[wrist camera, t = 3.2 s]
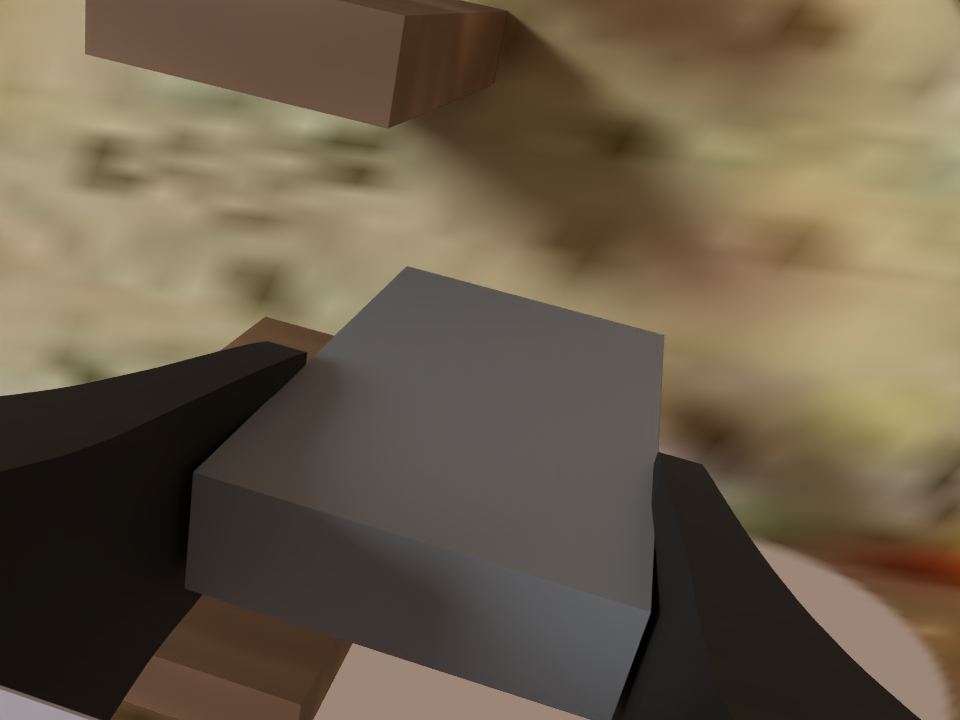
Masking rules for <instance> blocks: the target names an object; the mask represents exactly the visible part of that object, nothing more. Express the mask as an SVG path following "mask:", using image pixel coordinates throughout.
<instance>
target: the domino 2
mask: <svg viewBox="0 0 960 720" xmlns="http://www.w3.org/2000/svg"><path fill="white" fill-rule="evenodd" d="M351 645H352V642H348V641H345V640H342V639H339V638H336V637H333V636H330V635H327V634H324V633H321V632H317V631H314V630H311V629H308V628H305V627H302V626H299V625H296V624H293V623H289V622H286V621H283V620H280V619H277V618H274V617H271V616H268V615H265V614H262V613H258V612H255V611H252V610H249V609H246V608H243V607H240V606H237V605H234V604H231V603H227V602H224V601H221V600H218V599H215V598H212V597H209V596H206V595H202V596H201V598H200V599H199V600H198V601H197V602H196V604H195V605H194V606H193V607H192V608H191V610H190V611H189V612H188V613H187V614H186V615H185V617H184V618H183V619H182V620H181V621H180V623H179V624H178V625H177V626H176V627H175V629H174V630H173V631H172V632H171V633H170V635H169V636H168V637H167V638H166V640H165V641H164V642H163V644H162V645H161V646H160V648H159V649H158V650H157V651H156V653H155V654H154V655H153V657H152V658H151V659H150V661H149V662H148V663H147V665H146V666H145V668H144V669H143V671H142V672H141V674H140V675H139V677H138V678H137V680H136V681H135V683H134V684H133V686H132V687H131V689H130V690H129V692H128V693H127V695H126V696H125V698H124V699H123V701H125V702H128V703H130V704H133V705H136V706H139V707H142V708H145V709H148V710H151V711H154V712H157V713H160V714H163V715H166V716H169V717H172V718H175V719H177V720H313V719H314V717H315V715H316V713H317V711H318V709H319V707H320V705H321V703H322V701H323V700H324V698H325V696H326V693H327V692H328V690H329V688H330V686H331V684H332V682H333V680H334V678H335V676H336V674H337V672H338V670H339V668H340V667H341V665H342V663H343V661H344V659H345V657H346V655H347V653H348V651H349V649H350V647H351Z"/></svg>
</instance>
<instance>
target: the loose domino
mask: <svg viewBox="0 0 960 720" xmlns="http://www.w3.org/2000/svg"><path fill="white" fill-rule="evenodd" d="M663 349H664V335H661V334H657V333H654V332H650V331H646V330H642V329H639V328H635V327H631V326H628V325H624V324H620V323H616V322H613V321H609V320H605V319H601V318H598V317H594V316H590V315H587V314H583V313H579V312H575V311H572V310H568V309H564V308H561V307H557V306H553V305H549V304H546V303H542V302H538V301H534V300H531V299H527V298H523V297H520V296H516V295H512V294H508V293H505V292H501V291H497V290H494V289H490V288H486V287H482V286H479V285H475V284H471V283H467V282H464V281H460V280H456V279H453V278H449V277H445V276H441V275H438V274H434V273H430V272H427V271H423V270H419V269H415V268H412V267H408V266H407V267H406V268H405V269H404V270H403V271H402V272H400V273H399V274H398V275H397V276H396V277H395V278H394V279H393V280H392V281H391V282H390V283H389V284H388V285H387V286H386V287H385V288H384V289H383V290H382V291H381V292H380V293H379V294H378V295H377V296H376V297H375V298H374V299H372V300H371V301H370V302H369V303H368V304H367V305H366V306H365V307H364V308H363V309H362V310H361V311H360V312H359V313H358V314H357V315H356V316H355V317H354V318H353V319H352V320H351V321H350V322H349V323H348V324H347V325H346V326H344V327H343V328H342V329H341V330H340V331H339V332H338V333H337V334H336V335H335V336H334V337H333V338H332V339H331V340H330V341H329V342H328V343H327V344H326V345H325V346H324V347H323V348H322V349H321V350H320V351H319V352H318V353H316V354H315V355H314V356H313V357H312V358H311V359H310V360H309V361H308V362H307V363H306V365H305V366H304V367H303V368H302V369H301V370H300V371H299V372H298V373H297V374H296V375H295V376H294V377H293V378H292V379H291V380H290V381H289V382H288V383H287V384H286V385H285V386H284V387H283V388H282V389H281V390H280V391H279V392H277V393H276V394H275V395H274V396H273V397H272V398H270V399H269V400H268V401H267V402H266V403H265V404H264V405H263V406H262V407H260V408H259V409H258V410H257V411H256V412H255V413H254V414H253V415H252V416H251V417H250V418H249V419H248V420H247V421H246V422H245V423H244V424H243V425H242V426H241V427H240V428H239V429H238V430H237V431H236V432H235V433H234V434H232V435H231V436H230V437H229V438H228V439H227V440H226V441H225V442H224V443H223V444H222V445H221V446H220V447H219V448H218V449H217V450H216V451H215V452H214V453H213V454H212V455H211V456H210V457H209V458H208V459H207V460H206V461H204V462H203V463H202V464H201V465H200V466H199V467H198V468H197V469H196V470H195V471H194V472H193V483H192V497H191V510H190V523H189V537H188V550H187V564H186V577H185V589H187V590H190V591H193V592H196V593H200V594H203V595H206V596H209V597H212V598H215V599H218V600H221V601H224V602H227V603H231V604H234V605H237V606H240V607H243V608H246V609H249V610H252V611H255V612H258V613H262V614H265V615H268V616H271V617H274V618H277V619H280V620H283V621H286V622H289V623H293V624H296V625H299V626H302V627H305V628H308V629H311V630H314V631H317V632H321V633H324V634H327V635H330V636H333V637H336V638H339V639H342V640H345V641H348V642H352V643H355V644H358V645H361V646H364V647H367V648H370V649H374V650H376V651H379V652H383V653H386V654H389V655H392V656H395V657H398V658H401V659H404V660H408V661H410V662H414V663H417V664H420V665H423V666H426V667H429V668H432V669H435V670H439V671H441V672H445V673H448V674H451V675H454V676H457V677H460V678H463V679H466V680H470V681H473V682H476V683H479V684H482V685H485V686H488V687H491V688H494V689H497V690H501V691H503V692H507V693H510V694H513V695H516V696H519V697H522V698H525V699H529V700H531V701H535V702H538V703H541V704H544V705H547V706H550V707H553V708H556V709H559V710H562V711H566V712H569V713H572V714H575V715H578V716H581V717H584V718H587V719H591V720H612V717H613V714H614V711H615V709H616V706H617V703H618V700H619V698H620V695H621V692H622V690H623V687H624V684H625V681H626V679H627V676H628V673H629V670H630V668H631V665H632V662H633V660H634V657H635V654H636V651H637V649H638V646H639V643H640V640H641V638H642V635H643V632H644V630H645V627H646V624H647V621H648V619H649V616H650V613H651V599H652V578H653V557H654V537H655V534H654V525H653V515H652V505H651V502H652V484H653V467H654V462H655V459H656V456H657V453H658V452H659V432H660V411H661V390H662V370H663Z"/></svg>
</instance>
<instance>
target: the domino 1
mask: <svg viewBox="0 0 960 720" xmlns="http://www.w3.org/2000/svg"><path fill="white" fill-rule="evenodd" d="M507 13H508V11H505V10H501V9H496V8H492V7H488V6H483V5H479V4H474V3H470V2H465V1H461V0H86V19H85V54H87V55H91V56H95V57H100V58H104V59H108V60H112V61H116V62H120V63H124V64H128V65H132V66H136V67H140V68H144V69H148V70H152V71H156V72H160V73H165V74H169V75H173V76H177V77H181V78H185V79H189V80H193V81H197V82H201V83H205V84H209V85H213V86H217V87H221V88H226V89H230V90H234V91H238V92H242V93H246V94H250V95H254V96H258V97H262V98H266V99H270V100H274V101H278V102H282V103H286V104H291V105H295V106H299V107H303V108H307V109H311V110H315V111H319V112H323V113H327V114H331V115H335V116H339V117H343V118H347V119H351V120H356V121H360V122H364V123H368V124H372V125H376V126H380V127H384V128H390V127H393V126H395V125H397V124H400V123H402V122H404V121H407V120H409V119H412V118H414V117H416V116H419V115H421V114H423V113H426V112H428V111H430V110H433V109H435V108H437V107H440V106H442V105H444V104H447V103H449V102H451V101H454V100H456V99H459V98H461V97H463V96H466V95H468V94H470V93H473V92H475V91H477V90H480V89H482V88H484V87H487V86H489V85H491V84H494V79H495V74H496V69H497V64H498V59H499V54H500V49H501V44H502V39H503V33H504V28H505V23H506V18H507Z"/></svg>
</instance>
